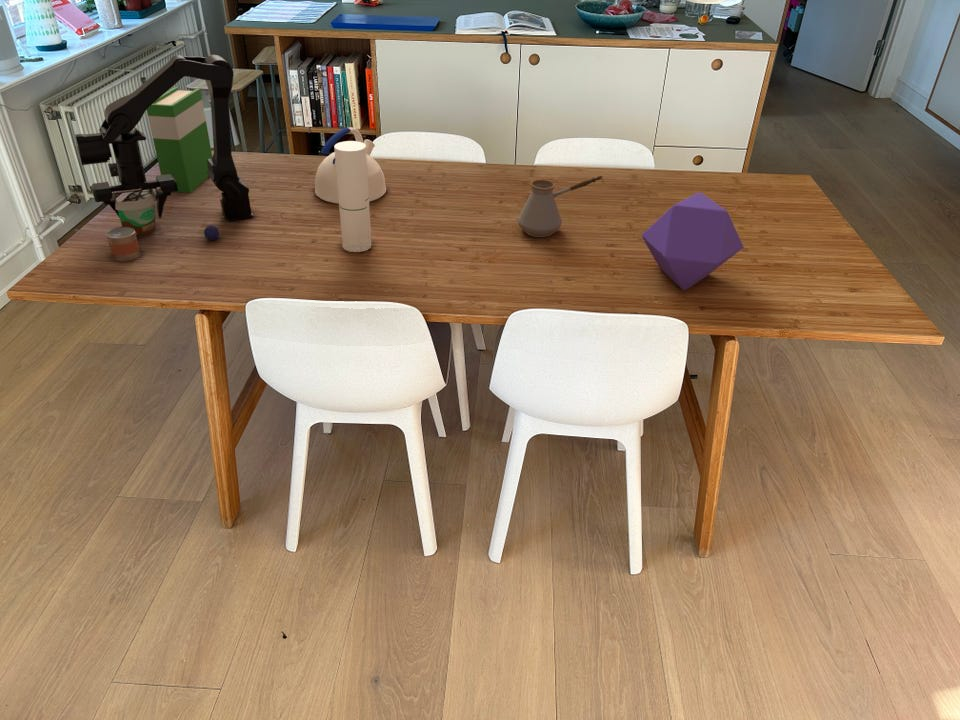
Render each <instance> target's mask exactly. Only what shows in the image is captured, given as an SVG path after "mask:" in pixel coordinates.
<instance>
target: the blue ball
mask: <svg viewBox="0 0 960 720" xmlns="http://www.w3.org/2000/svg"><path fill="white" fill-rule="evenodd" d="M203 235H204V237H205V238H206V239H207V240H209V241H215V240H217V239H218V238H219V237H220V230H219V228H218V227H217V226H215V225H208V226H206V227H205V228H204V230H203Z"/></svg>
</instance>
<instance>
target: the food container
mask: <svg viewBox="0 0 960 720" xmlns="http://www.w3.org/2000/svg"><path fill="white" fill-rule="evenodd" d="M156 203H157V197H156V192H155V189H149V190H142V191H134V192H129V193H128V195H126V196H125V197H124V199H122V200H121V201H119V200H117V201H116V204H115V207H116V210H118V213H119V217H120V218H119V217H118V218H119V220H120V225H121V227H129V228H133V229H134V230H135V234H136V237H137V238H143V237H147V236H150V235H152V234H153V233H155V232H156V230H157V224H156V222H157V221H156V206H155V204H156Z"/></svg>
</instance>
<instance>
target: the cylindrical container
mask: <svg viewBox="0 0 960 720" xmlns="http://www.w3.org/2000/svg"><path fill="white" fill-rule="evenodd" d="M333 146H334V148H333V149H334V152H335V161H336V174H337V186H338V198H339V204H338V209H339V221H340V222H339V223H340V232H341V233H340V234H341V245H342V249H343V250H345V251H347V252H349V253H361V252H366V251H368V250H370V249H371V248H372V230H371V226H372V225H371V213H370V212H371V211H370V209H371V208H370V202H369V192H368V174H367V157H366V145H365V144H364V142H363V143H362V142H357V141H356V140H345V141H344V140H343V141H340V142H336V143H335V144H334V145H333Z"/></svg>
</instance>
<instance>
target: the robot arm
mask: <svg viewBox="0 0 960 720" xmlns="http://www.w3.org/2000/svg"><path fill="white" fill-rule="evenodd" d="M234 74H235V73H234V69H233V66H232V65H231V64H230V63H229V62H228V61H226V60H225V59H224V58H223V56H220V55H217V54H209V55H208V56H206V57H203V56H187V55H186V56H185V55H179V54H175V55H173V56H172V57H170V59H169V60H168V62H166V63H165V64H164V65H163V66H162V67H160V68H159V69H158V70H157V71H156V72H155V73H154V74H152V75H151V76H150V77H149V78H148V79H147V80H145V81H144V82H143V83H142V84H141V85H140V86H139V87H137V88H136V89H135V90H134V91H133V92H131V93H129V94H127V95H124V96H121V97H119V98H118V99H116V100H114V101H113V102H111V103H109V104H108V105H107V106H106V107H105V109H104V120H103V122H102V123H101V126H100V127H99V129H98V132H94V133H77V134H75V135H74V137H75V142H76V145H77V146H76V150H77V154H78V157H79V161H80V164H81V166H87V165H88V166H89V165H96V164H97V165H98V164H106V163H107V167H108V171H109V174H110V177H111V178H115V177H117V178H118V182H119V184H118V185H110V184H109V181H103V182H95V183H92V184H91V185H90V189H91V193H92V196H93V199H94V202H95V203H103V205H106V206H107V205H108V206H109V207H110V208H111V209H112V210H113V211H114V212H115V214H116V215H117V217H118V218H119V219H120V217H119V213H118V210H116V207H115V204H116V201H118V200H117V198H116V195H119V194H126V193H132V192H134V191H142V190H149V189H153V190H154V192H155V194H156V197H157V201H156V210H157V211H156V212H157V215H158V219H162V215H163V211H164V207H165V204H166V201H167V200H168V199H167V198H168V197H170V196H172V193H177V192H176V191H178V188H177V183H176V181H175V179H174V177H173V176H172V175H171V174H165V175H161V174H157V175H155V179H154V180H149V181H147V178H146V177H147V176H146V173H145V169H144V163H143V158H142V154H141V150H140V149H141V148H140V145H139V142H141V141H146V140H147V136H146V135H145V133H144V132H141V131H140V130H139V129H138V127H136V126H137V125H138V124H139V122H140V121H141V120H142V118H143V116H144V115H145V113H146V112H147V108H148V107H149V106H151V105H152V104H153V103H154V102H155V101H156V100H158V99H159V98H160V97H161V96H162V95H163V94H164V93H166V92H167V91H169V90H171V89H172V88H173V87H175V85H176V84H178V83H179V81H181V80H182V79H183V78H184V77H187V78H193V79H199V80H202V81H205V84H206V87H207V90H208V93H209V97H210V98H209V99H210V112H211V114H210V115H211V128H212V129H211V130H212V143H213V153H212V159H206V160H207V164H208V171H207V174H208V176H209V177H208V178H210V180H211V182H213V184H214V186H215V187H216V188H217V189H218V190H219V191H220V194H221V198H220V199H219V201H220V207H221V212H222V215H223V216H224V217H225V218H226V219H227V221H229V222H233V221H238V220H244V219H249V218H250V219H251V218H253V217H254V213H253V212H252V209H251V208H252V207H251V203H250V195H249V194H250V188H249V187H248V186H247V184H246V183H245V182H244V181H243V180H242V178H241V177H239V176H238V171H237V167H236V165H235V162H234V159H233V154H232V136H231V134H232V133H231V116H230V95H231V93H232V90H233V83H234V76H235V75H234ZM110 144H111V146H110ZM111 147H112V150H111ZM112 151H113V154H112ZM112 155H114V160H115V162H113V163H112V162H110V163H108V162H109V161H110V159H111V158H113V156H112Z"/></svg>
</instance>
